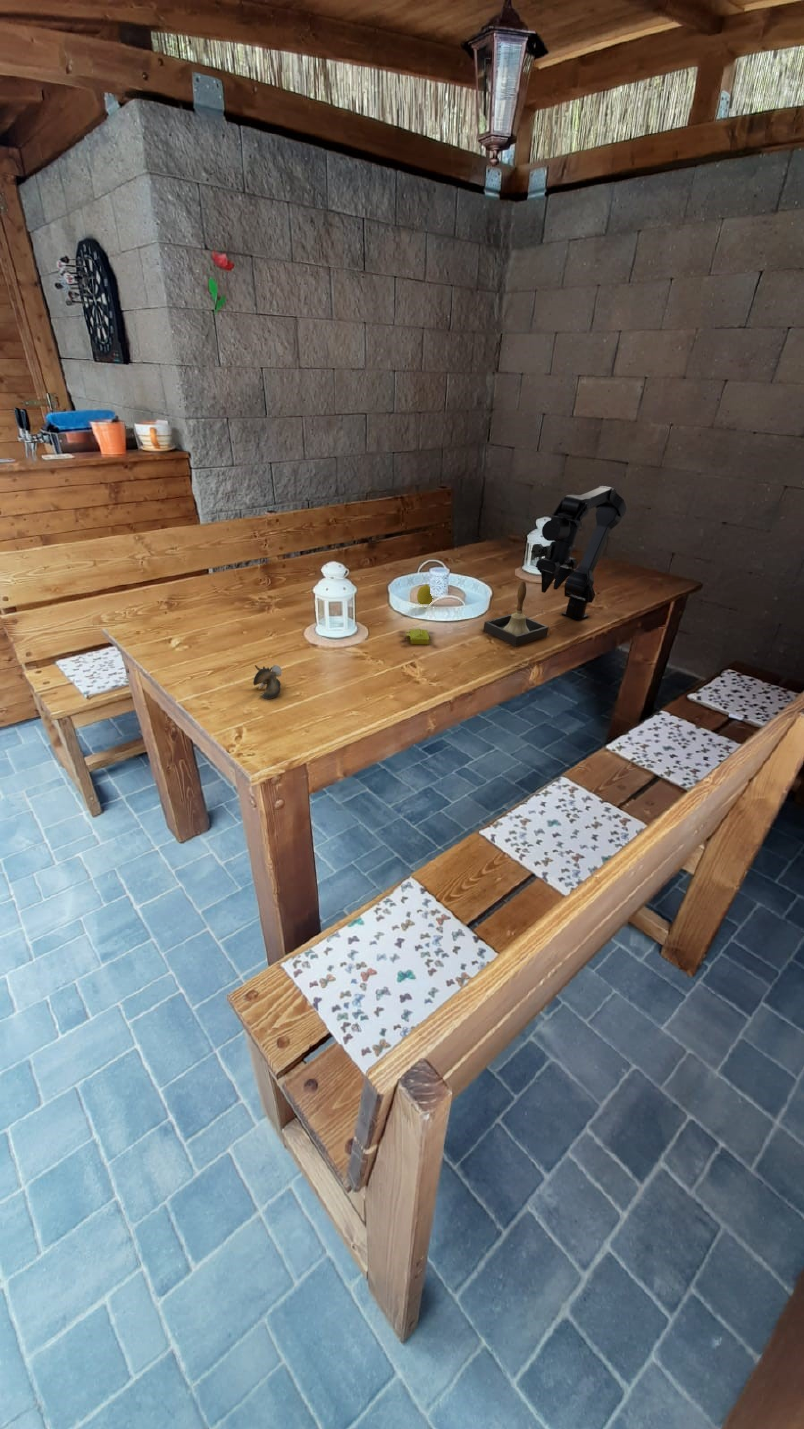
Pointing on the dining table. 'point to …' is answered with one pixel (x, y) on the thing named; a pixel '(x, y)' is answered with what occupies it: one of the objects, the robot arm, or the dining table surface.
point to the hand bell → (518, 614)
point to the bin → (497, 630)
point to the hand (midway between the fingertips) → (549, 590)
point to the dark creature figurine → (268, 680)
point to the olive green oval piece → (424, 595)
